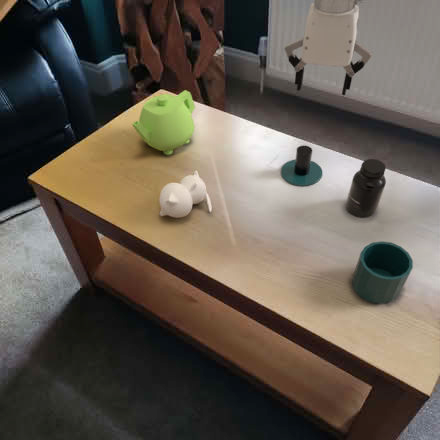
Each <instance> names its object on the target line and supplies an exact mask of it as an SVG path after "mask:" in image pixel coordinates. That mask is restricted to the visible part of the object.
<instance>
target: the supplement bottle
mask: <svg viewBox="0 0 440 440" xmlns="http://www.w3.org/2000/svg"><path fill="white" fill-rule="evenodd" d="M360 166H361V167H360V169H359V170H358V171H356V172H355V173H354V175H353V176H352V180H351V184H350V187H349V191H348V195H347V198H346V202H345V210H346V211H347V212H348V214H349V215H351V216H353V217H355V218H360V219H367V218H371V217H373V216H374V215H375V214H376V212H377V209H378V207H379V204H380V201H381V199H382V196H383V193H384V191H385V188H386V184H387V180H386V177H385V172H386V169H387V168H386V167H387V166H386V164H385V163H384V162H383V161H382V160H380V159H377V158H367V159H364V161H363V162H362V163H361V165H360Z"/></svg>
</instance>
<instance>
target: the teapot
mask: <svg viewBox="0 0 440 440" xmlns="http://www.w3.org/2000/svg"><path fill="white" fill-rule="evenodd" d="M195 109H196V105H195V102H194V100H193V96H192V94H191V92H190V91H189V90H187V89H184V90H182V91H181V92H180V93H179V94H177V95H172V94H169V93H163V94H159V95H156V96H154V97H152V98H149V99H148V100H147V101H146V102H145V103H144V104H143V106H142V108H141V111H140V115H139V118H138V119H139V120H135V121H134V122H133V123H131V125H132V127H133V129H134V130H135V131H136V133H137V134H138V135H139V137H140V138H141V140H142V141H143V142H145V144H147V145H148V146H150V147H151V148H153V149H155V150H157V151H163V154H164V155H171V154H173V152H174V150H175V149H177V148H179V147H181V146H183V145H186V144H189V143H190V139H191V137H192V135H193V134H194V132H195V122H194V119H193V116H192V114H193V112H194V110H195Z"/></svg>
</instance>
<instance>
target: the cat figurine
mask: <svg viewBox="0 0 440 440" xmlns="http://www.w3.org/2000/svg"><path fill="white" fill-rule="evenodd" d="M204 200H206V205H207V208H208V209H207V210H208V212H209V213H210V214H211V213H212V210H213V209H212V202H211V198H210V196H209V194H208V192H207V187H206V183H205V181H204V180H203V179H202V178H200V175H199V172H198V171H197V170H194V171H193V174H188V175H186V176H184V177H183V178H182V179H181V181H180V182H169V183H167V184H165V186H163V188H162V189H161V191H160V193H159V201H158V202H159V206H160V211H159V216H160V217H164V216H169V217H171V218H177V219H178V218H185V217H186V216H187V215H189V214H190V213H191V211H192V209H193V205H197V204H200V203H202V202H203V201H204Z"/></svg>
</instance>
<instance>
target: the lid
mask: <svg viewBox="0 0 440 440" xmlns="http://www.w3.org/2000/svg"><path fill="white" fill-rule="evenodd" d="M312 155H313V148H312V147H310V146H309V145H300V146H298V147H296V152H295V158H294V159H291V160H288V161H286V162H285V163H284V164H283V165H282V166H281V169H280V176H281V177H282V179H283V180H284V181H285V182H287V183H288V184H290V185H293V186H297V187H308V186H312V185H315V184H317V183H318V182H320V180H321V179H322V178H323V169H322V167H321V166H320V165H319V164H318V163H317V162H315V161H313V160H312V157H313V156H312Z"/></svg>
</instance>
